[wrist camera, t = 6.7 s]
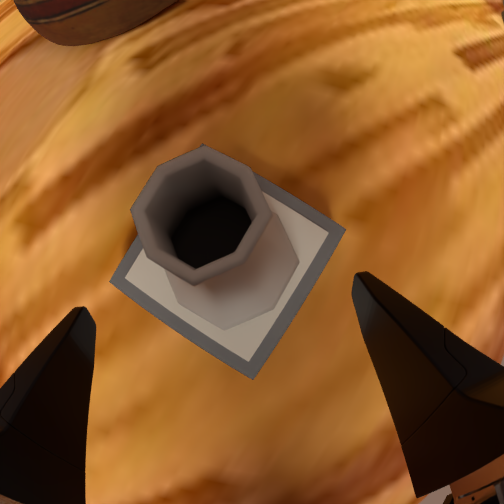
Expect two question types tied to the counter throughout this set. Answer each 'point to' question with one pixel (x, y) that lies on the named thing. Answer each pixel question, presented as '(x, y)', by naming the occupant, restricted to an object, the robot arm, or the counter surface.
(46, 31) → the ceramic pitcher
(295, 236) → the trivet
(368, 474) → the counter surface
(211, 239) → the flask
